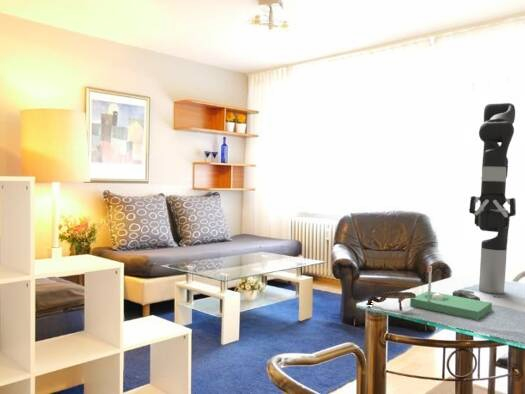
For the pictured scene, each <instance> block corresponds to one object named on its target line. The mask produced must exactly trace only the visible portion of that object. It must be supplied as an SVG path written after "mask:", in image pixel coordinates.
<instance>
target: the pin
mask: <svg viewBox="0 0 525 394" xmlns="http://www.w3.org/2000/svg"><path fill="white" fill-rule="evenodd" d="M426 272H427V273H428V285H427V286H428V287H427V289H428V290H427V291H428V301H429V302H430V295H431V292H432V272H433V266H432V265H429V266H426Z"/></svg>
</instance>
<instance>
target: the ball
mask: <svg viewBox="0 0 525 394" xmlns="http://www.w3.org/2000/svg"><path fill="white" fill-rule="evenodd" d="M435 293H436V294H434V295H433V296H432V298H431V299H436V300H443V296H442V295H441V294H442V293H441V294H438V293H439V292H435Z"/></svg>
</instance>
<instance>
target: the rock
mask: <svg viewBox="0 0 525 394" xmlns="http://www.w3.org/2000/svg"><path fill="white" fill-rule="evenodd" d="M452 296H457V297H463V298H468V299H474V300H479V301H481V298H480V297H479V296H477V295H475V294H473V293H471V292H468V291H466V290H463V289H458V290H454V291H453V292H452Z"/></svg>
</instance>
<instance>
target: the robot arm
mask: <svg viewBox="0 0 525 394" xmlns="http://www.w3.org/2000/svg"><path fill="white" fill-rule="evenodd" d="M515 120H516V107H515V105H514V104H513V103H511V102H502V103H501V102H499V103H487V104H486V105H485V106H484V109H483V122H482V124H481V126H480V128H479V129H478V130H479V131H478V137H479V139H480V140H481V141H482V142H483V152H482V163H481V164H482V167H481V179H480V180H481V186H480V196H475V195H473V196H470V201H469V202H470V203H469V211H468V212H469V213H470V214H472V215H474V225H475V227H478V228H479V229H480V231H483V232H484V231H485V232H493V233H497V235H496V236H494V237H493V238H488V239H484V240H482V241H481V246H480V247H481V248H480V264H479V265H480V267H479V279H478V280H479V283H478V290H479V291H480V292H484V293H489V294H504V293H505V287H506V286H505V284H506V271H507V270H506V269H507V268H506V267H507V250H508V240H509V239H508V238H509V229H510V220H511V219H510V218H511V217H514V216H516V213H517V211H516V209H517V207H516V206H517V205H516V198H515V197H511V198H506V186H507V184H506V183H507V178H508V174H509V173H508V170H509V159H508V156H507V155H508V150H509V147H510V143H511V142H512V138H513V136H514V133H515V128H514V125H513V124H514V123H515ZM499 143H500V144H499ZM478 202H479V207H478V208H477V210H476V205H477V204H478ZM506 202H507V205H509V211H508V210H507V209H506V207H505V203H506ZM476 203H477V204H476Z"/></svg>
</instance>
